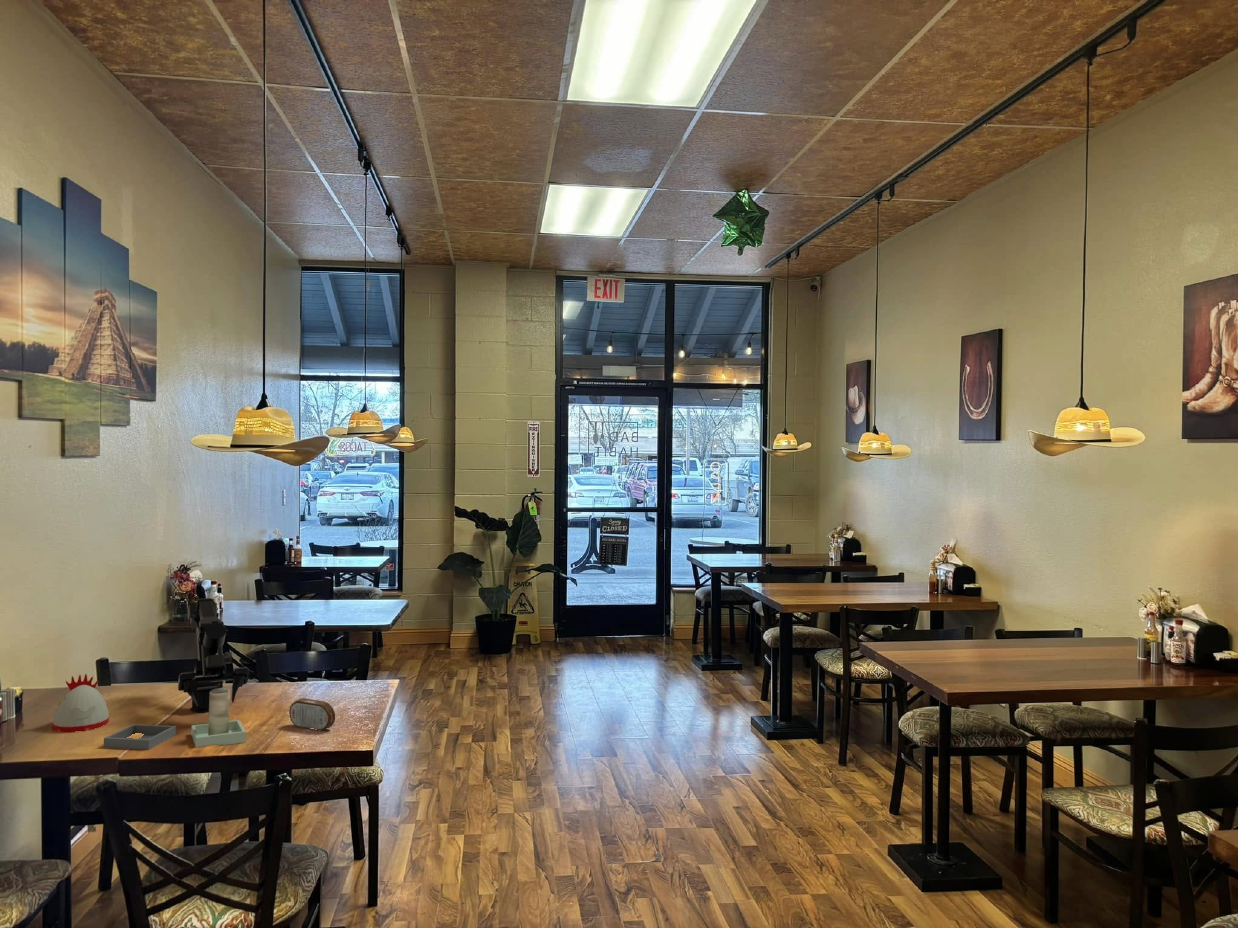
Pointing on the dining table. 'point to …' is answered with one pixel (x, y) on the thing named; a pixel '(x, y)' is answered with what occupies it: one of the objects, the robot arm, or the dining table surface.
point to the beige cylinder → (218, 711)
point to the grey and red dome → (81, 708)
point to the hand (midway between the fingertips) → (215, 703)
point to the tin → (312, 714)
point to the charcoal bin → (146, 742)
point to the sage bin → (232, 737)
